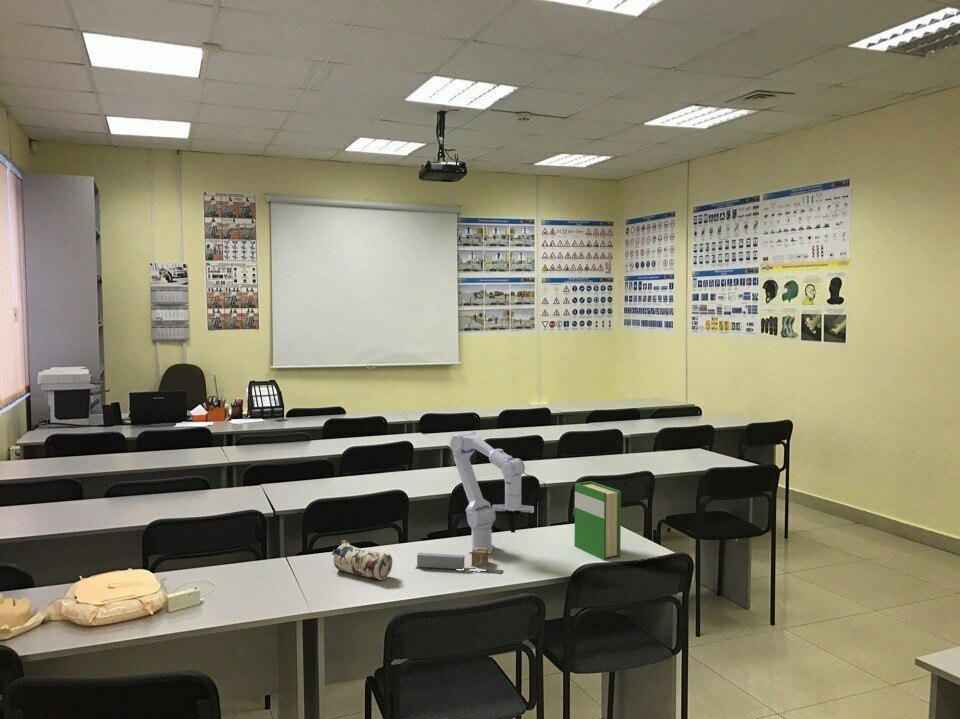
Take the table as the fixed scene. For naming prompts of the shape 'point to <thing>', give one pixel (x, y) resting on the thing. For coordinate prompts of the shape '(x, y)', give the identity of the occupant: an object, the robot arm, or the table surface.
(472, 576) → the table surface
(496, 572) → the metal track
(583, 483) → the hardback book
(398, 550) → the table surface
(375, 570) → the pencil case
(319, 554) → the table surface
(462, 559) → the slate screen
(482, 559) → the walnut letter block
